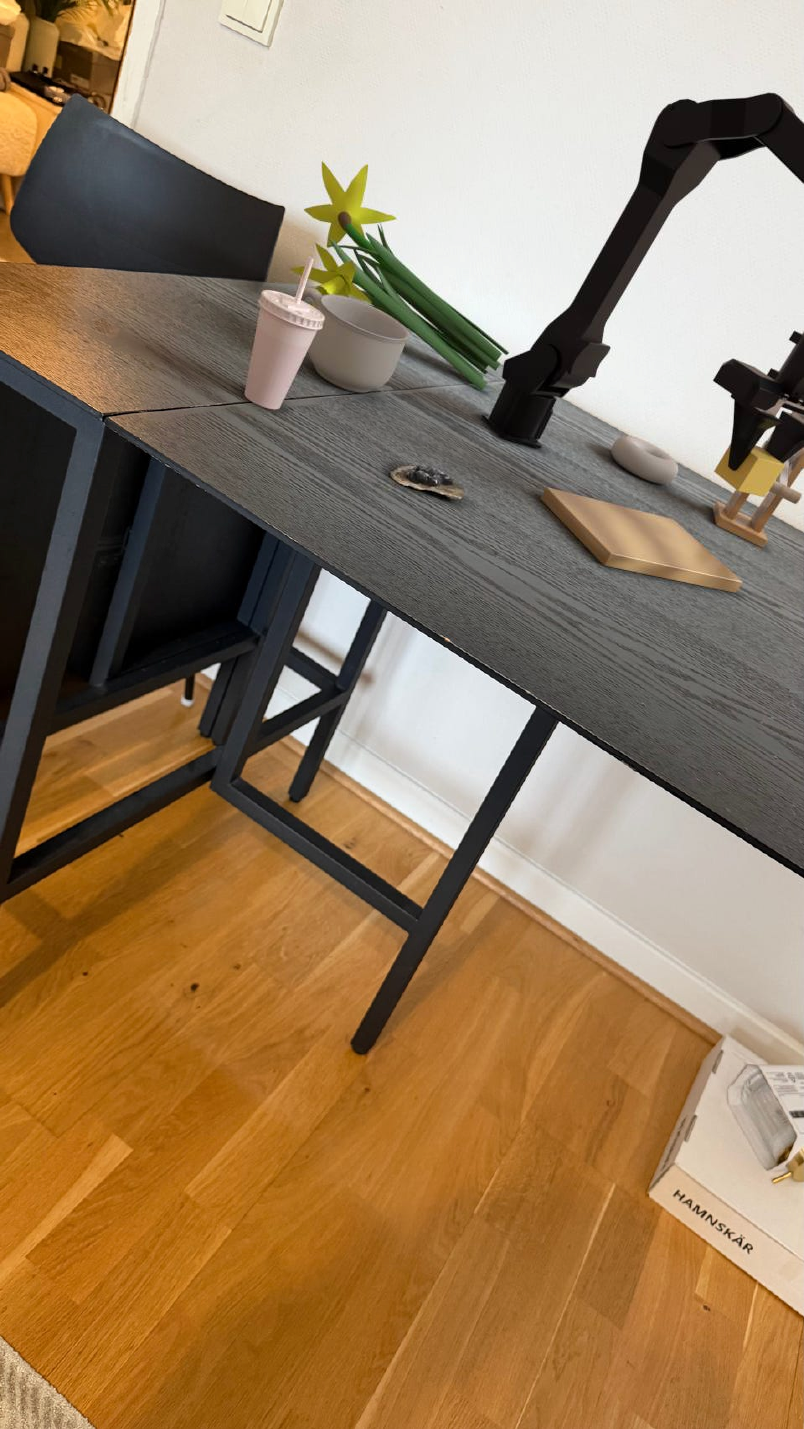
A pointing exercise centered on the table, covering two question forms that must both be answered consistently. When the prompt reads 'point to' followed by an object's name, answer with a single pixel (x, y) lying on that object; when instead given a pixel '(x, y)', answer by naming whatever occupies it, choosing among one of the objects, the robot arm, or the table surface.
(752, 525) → the wooden dowel stand
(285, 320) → the smoothie
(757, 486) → the yellow cube
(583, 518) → the cutting board
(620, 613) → the table surface
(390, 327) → the teacup
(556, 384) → the robot arm
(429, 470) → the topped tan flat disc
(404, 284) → the daffodil flowers
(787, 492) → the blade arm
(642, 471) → the donut
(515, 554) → the table surface
